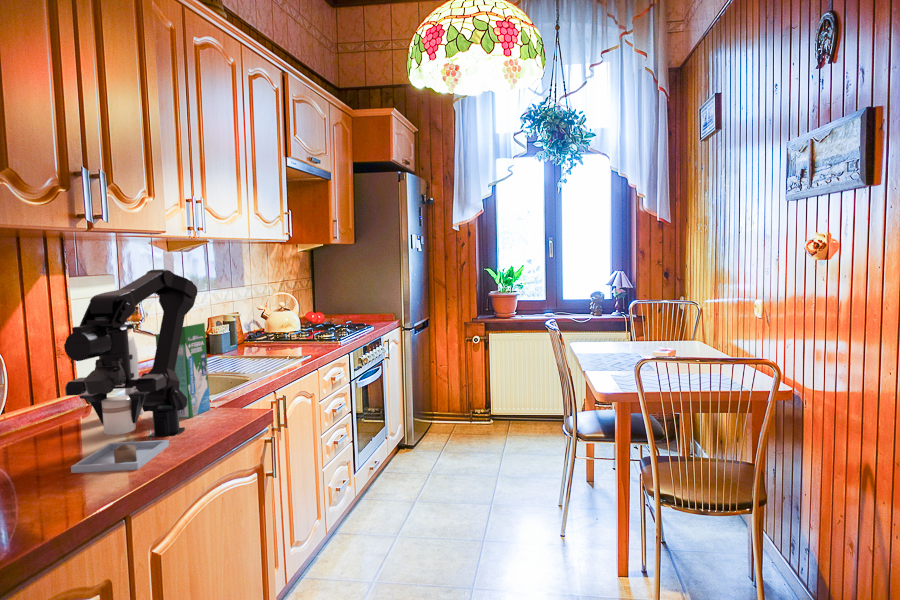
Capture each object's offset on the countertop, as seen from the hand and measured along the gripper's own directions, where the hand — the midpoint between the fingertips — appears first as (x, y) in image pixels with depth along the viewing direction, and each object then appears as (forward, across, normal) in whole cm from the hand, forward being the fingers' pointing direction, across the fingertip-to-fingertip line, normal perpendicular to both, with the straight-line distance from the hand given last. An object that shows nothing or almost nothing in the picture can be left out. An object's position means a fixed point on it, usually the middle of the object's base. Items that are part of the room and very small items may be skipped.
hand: (119, 423), depth 127 cm
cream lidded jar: (+2, 0, 0) cm, 2 cm away
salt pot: (+7, +4, -7) cm, 10 cm away
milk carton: (+8, 0, +36) cm, 37 cm away
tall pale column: (+8, -15, +38) cm, 42 cm away
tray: (+7, +2, -3) cm, 8 cm away
